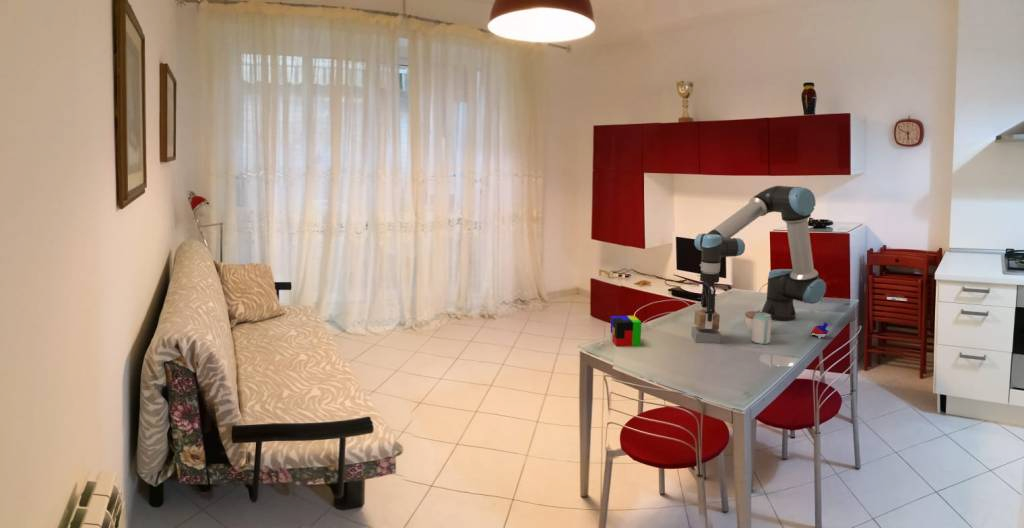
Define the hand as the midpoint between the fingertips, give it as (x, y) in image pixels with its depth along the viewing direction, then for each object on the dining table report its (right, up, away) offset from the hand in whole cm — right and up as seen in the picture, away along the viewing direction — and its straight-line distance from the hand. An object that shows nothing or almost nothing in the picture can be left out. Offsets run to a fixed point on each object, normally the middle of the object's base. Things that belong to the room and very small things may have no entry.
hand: (706, 325), depth 261 cm
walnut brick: (0, 0, 0) cm, 0 cm away
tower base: (0, -6, +1) cm, 6 cm away
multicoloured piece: (+50, -6, +6) cm, 50 cm away
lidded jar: (+26, -4, +13) cm, 30 cm away
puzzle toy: (-35, -7, -3) cm, 35 cm away
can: (+22, -7, -2) cm, 23 cm away
